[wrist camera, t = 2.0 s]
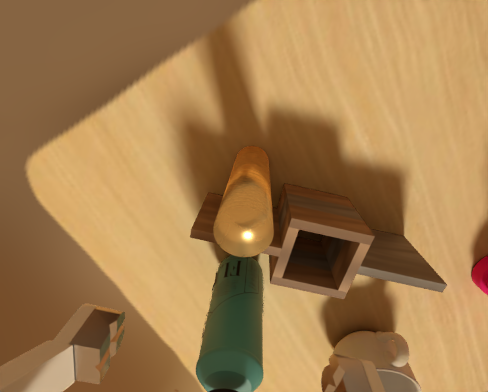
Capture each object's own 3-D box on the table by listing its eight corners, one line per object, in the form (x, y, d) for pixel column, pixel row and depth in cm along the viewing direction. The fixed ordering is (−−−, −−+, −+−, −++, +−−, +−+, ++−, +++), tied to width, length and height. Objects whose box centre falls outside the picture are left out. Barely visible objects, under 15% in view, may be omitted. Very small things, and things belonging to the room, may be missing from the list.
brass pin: (257, 139, 31) (252, 193, 17) (274, 167, 33) (284, 241, 18) (229, 157, 32) (201, 222, 18) (246, 183, 34) (234, 265, 19)
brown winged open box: (212, 167, 33) (196, 196, 25) (416, 213, 34) (466, 256, 26) (203, 222, 36) (185, 265, 28) (389, 263, 37) (425, 316, 29)
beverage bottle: (245, 238, 37) (229, 396, 19) (273, 271, 39) (282, 443, 20) (209, 260, 39) (161, 423, 20) (237, 290, 41) (216, 464, 22)
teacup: (369, 374, 46) (389, 429, 39) (313, 353, 45) (323, 406, 38) (423, 321, 41) (458, 374, 34) (361, 296, 40) (383, 345, 32)
